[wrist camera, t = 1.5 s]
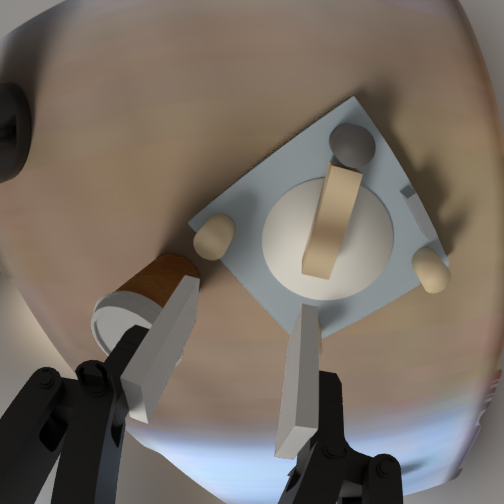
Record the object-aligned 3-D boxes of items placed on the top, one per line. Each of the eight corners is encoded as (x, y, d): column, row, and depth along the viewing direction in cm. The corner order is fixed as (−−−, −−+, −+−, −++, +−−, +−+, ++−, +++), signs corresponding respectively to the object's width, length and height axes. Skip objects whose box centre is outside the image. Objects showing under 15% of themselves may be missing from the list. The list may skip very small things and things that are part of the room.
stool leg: (333, 118, 23) (338, 119, 20) (370, 129, 23) (380, 132, 20) (297, 258, 29) (297, 275, 26) (330, 266, 29) (333, 283, 26)
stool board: (192, 217, 31) (171, 239, 26) (351, 96, 23) (363, 93, 18) (302, 340, 36) (301, 372, 31) (444, 258, 28) (464, 284, 23)
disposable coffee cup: (196, 232, 32) (146, 295, 21) (225, 304, 35) (195, 380, 25) (128, 249, 34) (70, 306, 24) (160, 312, 38) (119, 378, 27)
